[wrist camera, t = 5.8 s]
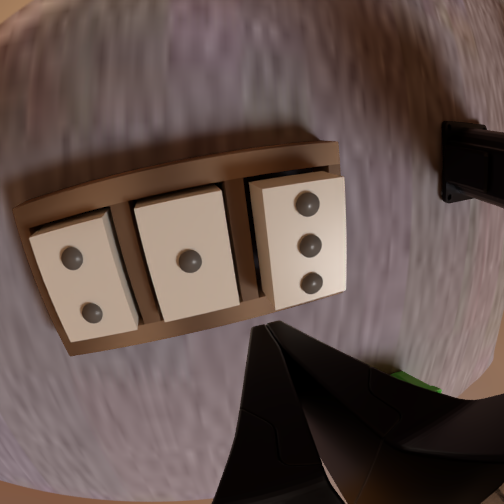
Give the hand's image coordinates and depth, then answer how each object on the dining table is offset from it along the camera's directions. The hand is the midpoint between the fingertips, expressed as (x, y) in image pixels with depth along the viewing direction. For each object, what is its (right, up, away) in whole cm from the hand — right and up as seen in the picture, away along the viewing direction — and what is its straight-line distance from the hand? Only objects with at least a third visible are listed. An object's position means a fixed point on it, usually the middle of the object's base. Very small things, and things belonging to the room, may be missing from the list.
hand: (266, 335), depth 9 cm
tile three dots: (+2, +3, +8) cm, 9 cm away
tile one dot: (-4, +3, +8) cm, 9 cm away
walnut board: (-4, +3, +8) cm, 10 cm away
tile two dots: (-9, +1, +7) cm, 11 cm away
